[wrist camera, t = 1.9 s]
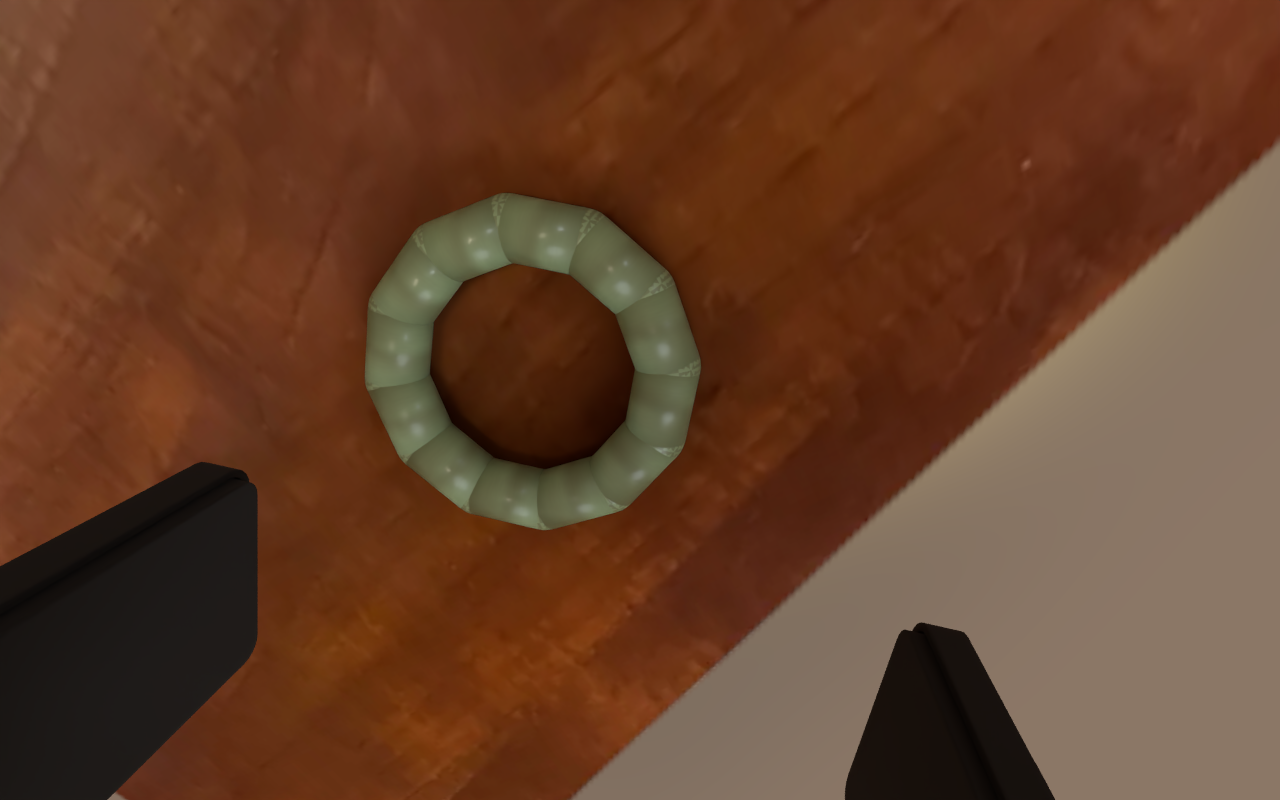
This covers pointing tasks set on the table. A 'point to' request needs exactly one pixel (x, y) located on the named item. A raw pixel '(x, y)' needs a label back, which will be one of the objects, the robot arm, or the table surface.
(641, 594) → the table surface
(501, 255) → the ring
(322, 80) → the table surface
